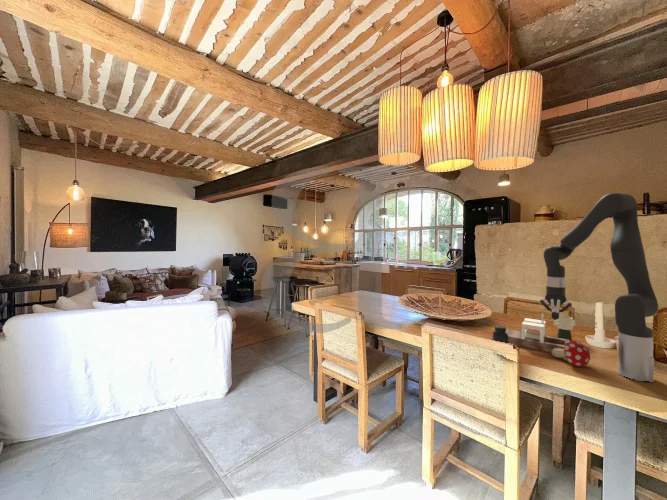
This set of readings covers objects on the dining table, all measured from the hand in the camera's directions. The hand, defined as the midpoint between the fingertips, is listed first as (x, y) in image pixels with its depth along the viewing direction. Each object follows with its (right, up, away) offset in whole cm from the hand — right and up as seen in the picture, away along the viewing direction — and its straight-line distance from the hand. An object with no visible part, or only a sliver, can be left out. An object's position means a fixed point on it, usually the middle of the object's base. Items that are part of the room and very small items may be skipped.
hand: (555, 319), depth 136 cm
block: (-6, -11, +6) cm, 14 cm away
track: (-6, -15, +6) cm, 17 cm away
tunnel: (-6, -11, +6) cm, 14 cm away
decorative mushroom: (-6, -16, -15) cm, 22 cm away
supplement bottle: (-29, -16, -1) cm, 33 cm away
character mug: (+15, -15, +12) cm, 25 cm away
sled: (-6, -11, +6) cm, 14 cm away
